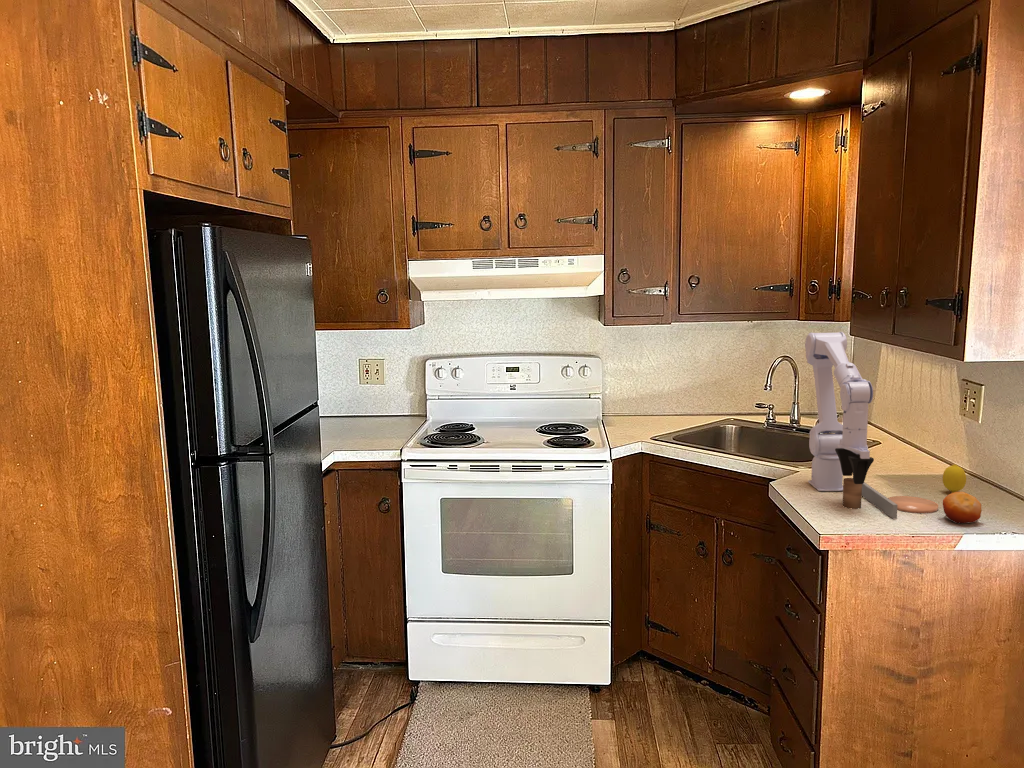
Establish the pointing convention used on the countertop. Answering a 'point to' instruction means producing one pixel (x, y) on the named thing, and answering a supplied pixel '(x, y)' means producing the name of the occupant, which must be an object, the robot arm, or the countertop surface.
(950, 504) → the fruit
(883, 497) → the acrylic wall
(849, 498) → the walnut cylinder
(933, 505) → the saucer
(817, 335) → the robot arm
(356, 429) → the countertop surface
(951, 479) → the lemon
